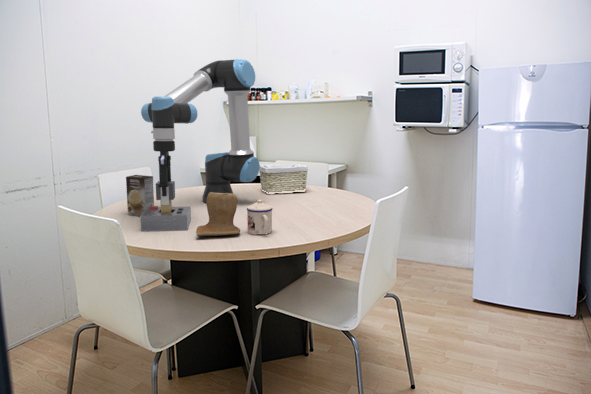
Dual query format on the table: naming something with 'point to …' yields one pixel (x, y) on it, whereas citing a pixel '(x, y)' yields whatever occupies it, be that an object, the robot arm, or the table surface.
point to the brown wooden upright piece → (219, 215)
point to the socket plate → (166, 219)
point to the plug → (171, 196)
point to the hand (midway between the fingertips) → (166, 202)
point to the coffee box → (139, 194)
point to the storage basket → (283, 177)
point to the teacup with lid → (259, 218)
